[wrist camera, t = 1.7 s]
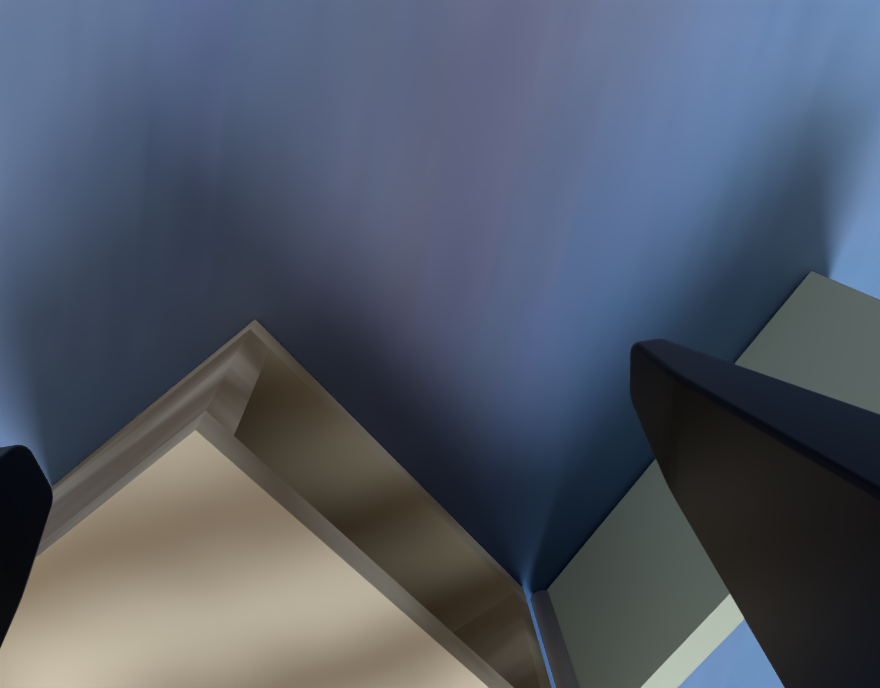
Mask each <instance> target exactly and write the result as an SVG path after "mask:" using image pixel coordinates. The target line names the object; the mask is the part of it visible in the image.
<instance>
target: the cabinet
mask: <svg viewBox="0 0 880 688" xmlns="http://www.w3.org/2000/svg"><path fill="white" fill-rule="evenodd" d="M51 489H52V492H53V503H52V507H51V510H50V513H49V516H48V519H47V522H46V526H45V529H44V532H43V535H42V538H41V541H40V545H39V548H38V551H37V554H36V557H35V560H34V564H33V567H32V570H31V573H30V576H29V579H28V582H27V585H26V588H25V591H24V594H23V597H22V599H21V602H20V604H19V607H18V609H17V612H16V614H15V616H14V619H13V621H12V623H11V626H10V628H9V630H8V632H7V635H6V637H5V639H4V642H3V644H2V646H1V649H0V688H551V684H550V681H549V677H548V674H547V670H546V667H545V663H544V660H543V656H542V653H541V649H540V646H539V642H538V639H537V635H536V632H535V628H534V625H533V621H532V618H531V614H530V611H529V607H528V604H527V600H526V596H525V593H524V589H523V588H522V587H521V586H520V585H519V584H518V583H517V582H516V581H515V580H514V579H513V578H512V577H511V576H510V575H509V574H508V573H507V572H506V571H505V570H504V569H503V568H502V567H501V566H500V565H499V564H498V563H497V562H496V561H495V560H494V559H493V558H492V557H491V556H490V555H489V554H488V553H487V552H486V551H485V550H484V548H483V547H482V546H481V545H480V544H479V543H478V542H477V541H476V540H475V539H474V538H473V537H472V536H471V535H470V534H469V533H468V532H467V531H466V530H465V529H464V528H463V527H462V526H461V525H460V524H459V523H458V522H457V521H456V520H455V519H454V518H453V517H452V516H451V515H450V514H449V513H448V512H447V511H446V510H445V509H444V508H443V507H442V506H441V505H440V504H439V503H438V502H437V501H436V500H435V499H434V498H433V497H432V496H431V495H430V494H429V493H428V492H427V491H426V490H425V489H424V488H423V487H422V486H421V485H420V484H419V483H418V482H417V481H416V480H415V479H414V478H413V477H412V476H411V475H410V474H409V473H408V472H407V471H406V470H405V469H404V468H403V467H402V466H401V465H400V464H399V463H398V462H397V461H396V460H395V459H394V458H393V457H392V456H391V455H390V454H389V453H388V452H387V451H386V450H385V449H384V448H383V447H382V446H381V445H380V444H379V443H378V442H377V441H376V440H375V439H374V438H373V437H372V436H371V435H370V434H369V433H368V432H367V431H366V430H365V429H364V428H363V427H362V426H361V425H360V424H359V423H358V422H357V421H356V420H355V419H354V418H353V417H352V416H351V415H350V414H349V413H348V412H347V411H346V410H345V409H344V408H343V407H342V406H341V405H340V404H339V403H338V402H337V401H336V400H335V399H334V398H333V397H332V396H331V395H330V394H329V393H328V392H327V391H326V390H325V389H324V388H323V387H322V386H321V385H320V384H319V383H318V382H317V381H316V380H315V379H314V378H313V377H312V376H311V375H310V374H309V373H308V372H307V371H306V370H305V369H304V368H303V367H302V366H301V365H300V364H299V363H298V362H297V360H296V359H295V358H294V357H293V356H292V355H291V354H290V353H289V352H288V351H287V350H286V349H285V348H284V347H283V346H282V345H281V344H280V343H279V342H278V341H277V340H276V339H275V338H274V337H273V336H272V335H271V334H270V333H269V332H268V331H267V330H266V329H265V328H264V327H263V326H262V325H261V324H260V323H259V322H258V321H257V320H256V319H255V320H254V321H252V322H251V323H250V324H249V325H247V326H246V327H245V328H244V329H243V330H241V331H240V332H239V333H238V334H237V335H235V336H234V337H233V338H232V339H230V340H229V341H228V342H227V343H226V344H224V345H223V346H222V347H221V348H220V349H218V350H217V351H216V352H215V353H213V354H212V355H211V356H210V357H209V358H207V359H206V360H205V361H204V362H202V363H201V364H200V365H199V366H198V367H196V368H195V369H194V370H193V371H192V372H190V373H189V374H188V375H187V376H185V377H184V378H183V379H182V380H181V381H179V382H178V383H177V384H176V385H175V386H173V387H172V388H171V389H170V390H168V391H167V392H166V393H165V394H164V395H162V396H161V397H160V398H159V399H158V400H156V401H155V402H154V403H153V404H151V405H150V406H149V407H148V408H147V409H145V410H144V411H143V412H142V413H140V414H139V415H138V416H137V417H136V418H134V419H133V420H132V421H131V422H130V423H128V424H127V425H126V426H125V427H123V428H122V429H121V430H120V431H119V432H117V433H116V434H115V435H114V436H113V437H111V438H110V439H109V440H108V441H106V442H105V443H104V444H103V445H102V446H100V447H99V448H98V449H97V450H96V451H94V452H93V453H92V454H91V455H89V456H88V457H87V458H86V459H85V460H83V461H82V462H81V463H80V464H78V465H77V466H76V467H75V468H74V469H72V470H71V471H70V472H69V473H68V474H66V475H65V476H64V477H63V478H61V479H60V480H59V481H58V482H57V483H55V484H54V485H53V486H52V487H51Z"/></svg>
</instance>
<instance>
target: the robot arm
mask: <svg viewBox="0 0 880 688" xmlns="http://www.w3.org/2000/svg"><path fill="white" fill-rule="evenodd" d="M630 394H631V400H632V403H633V406H634V409H635V411H636V413H637V416H638V418H639V420H640V423H641V425H642V427H643V430H644V432H645V435H646V437H647V439H648V442H649V444H650V446H651V449H652V451H653V453H654V456H655V458H656V460H657V463H658V465H659V467H660V470H661V472H662V474H663V476H664V479H665V481H666V483H667V485H668V487H669V489H670V491H671V493H672V495H673V496H674V498H675V500H676V502H677V504H678V505H679V507H680V509H681V511H682V512H683V514H684V516H685V517H686V519H687V521H688V523H689V524H690V526H691V528H692V529H693V531H694V533H695V535H696V536H697V538H698V540H699V541H700V543H701V545H702V547H703V548H704V550H705V552H706V553H707V555H708V557H709V559H710V560H711V562H712V564H713V565H714V567H715V569H716V571H717V572H718V574H719V576H720V577H721V579H722V581H723V583H724V584H725V586H726V588H727V589H728V591H729V593H730V595H731V596H732V598H733V600H734V601H735V603H736V605H737V607H738V608H739V610H740V612H741V614H742V615H743V617H744V619H745V620H746V622H747V624H748V626H749V627H750V629H751V631H752V632H753V634H754V636H755V638H756V639H757V641H758V643H759V644H760V646H761V648H762V650H763V651H764V653H765V655H766V656H767V658H768V660H769V662H770V663H771V665H772V667H773V668H774V670H775V672H776V674H777V675H778V677H779V679H780V680H781V682H782V684H783V686H784V687H785V688H880V414H878V413H875V412H872V411H869V410H866V409H863V408H860V407H858V406H855V405H852V404H849V403H846V402H843V401H840V400H837V399H834V398H831V397H829V396H826V395H823V394H820V393H817V392H814V391H811V390H808V389H805V388H802V387H799V386H797V385H794V384H791V383H788V382H785V381H782V380H779V379H776V378H773V377H770V376H768V375H765V374H762V373H759V372H756V371H753V370H750V369H747V368H744V367H741V366H739V365H736V364H733V363H730V362H727V361H724V360H721V359H718V358H715V357H712V356H710V355H707V354H704V353H701V352H698V351H695V350H692V349H689V348H686V347H683V346H681V345H678V344H675V343H672V342H669V341H666V340H663V339H652V340H646V341H640V342H636V343H634V344H633V346H632V348H631V353H630ZM52 503H53V492H52V489H51V486H50V484H49V482H48V480H47V479H46V477H45V475H44V473H43V471H42V470H41V468H40V466H39V464H38V462H37V461H36V459H35V457H34V455H33V454H32V452H31V451H30V450H29V449H28V448H27V447H25V446H23V445H13V446H7V447H1V448H0V649H1V646H2V644H3V642H4V639H5V637H6V635H7V632H8V630H9V628H10V626H11V623H12V621H13V619H14V616H15V614H16V612H17V609H18V607H19V604H20V602H21V599H22V597H23V594H24V591H25V588H26V585H27V582H28V579H29V576H30V573H31V570H32V567H33V564H34V560H35V557H36V554H37V551H38V548H39V545H40V541H41V538H42V535H43V532H44V529H45V526H46V522H47V519H48V516H49V513H50V510H51V507H52Z"/></svg>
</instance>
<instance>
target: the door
mask: <svg viewBox="0 0 880 688" xmlns="http://www.w3.org/2000/svg"><path fill="white" fill-rule="evenodd" d="M735 364H736V365H739V366H741V367H744V368H747V369H750V370H753V371H756V372H759V373H762V374H765V375H768V376H770V377H773V378H776V379H779V380H782V381H785V382H788V383H791V384H794V385H797V386H799V387H802V388H805V389H808V390H811V391H814V392H817V393H820V394H823V395H826V396H829V397H831V398H834V399H837V400H840V401H843V402H846V403H849V404H852V405H855V406H858V407H860V408H863V409H866V410H869V411H872V412H875V413H878V414H880V300H879V299H876V298H874V297H872V296H869V295H867V294H865V293H862V292H860V291H858V290H855V289H853V288H851V287H848V286H846V285H844V284H841V283H839V282H837V281H834V280H832V279H829V278H827V277H825V276H822V275H820V274H818V273H815V272H813V271H811V272H810V273H809V274H808V276H807V277H806V278H805V279H804V280H803V282H802V283H801V284H800V285H799V286H798V288H797V289H796V290H795V291H794V292H793V294H792V295H791V296H790V297H789V299H788V300H787V301H786V302H785V303H784V305H783V306H782V307H781V308H780V309H779V311H778V312H777V313H776V314H775V315H774V317H773V318H772V319H771V320H770V321H769V323H768V324H767V325H766V326H765V327H764V329H763V330H762V331H761V332H760V333H759V335H758V336H757V337H756V338H755V340H754V341H753V342H752V343H751V344H750V346H749V347H748V348H747V349H746V350H745V352H744V353H743V354H742V355H741V356H740V358H739V359H738V360H737V361H736V362H735ZM531 603H532V607H533V610H534V613H535V617H536V620H537V624H538V627H539V631H540V634H541V637H542V641H543V644H544V648H545V651H546V654H547V658H548V661H549V665H550V668H551V672H552V675H553V678H554V682H555V685H556V688H677V687H678V686H679V685H680V684H681V683H682V682H683V681H684V680H685V679H686V678H687V677H688V676H689V675H690V674H691V673H692V672H693V671H694V670H695V669H696V668H697V667H698V666H699V665H700V664H701V663H702V662H703V661H704V660H705V659H706V658H707V657H708V656H709V655H710V653H711V652H712V651H713V650H714V649H715V648H716V647H717V646H718V645H719V644H720V643H721V642H722V641H723V640H724V639H725V638H726V637H727V636H728V635H729V634H730V633H731V632H732V631H733V630H734V629H735V628H736V627H737V626H738V625H739V624H740V623H741V622H742V621H743V620H744V617H743V615H742V614H741V612H740V610H739V608H738V607H737V605H736V603H735V601H734V600H733V598H732V596H731V595H730V593H729V591H728V589H727V588H726V586H725V584H724V583H723V581H722V579H721V577H720V576H719V574H718V572H717V571H716V569H715V567H714V565H713V564H712V562H711V560H710V559H709V557H708V555H707V553H706V552H705V550H704V548H703V547H702V545H701V543H700V541H699V540H698V538H697V536H696V535H695V533H694V531H693V529H692V528H691V526H690V524H689V523H688V521H687V519H686V517H685V516H684V514H683V512H682V511H681V509H680V507H679V505H678V504H677V502H676V500H675V498H674V496H673V495H672V493H671V491H670V489H669V487H668V485H667V483H666V481H665V479H664V476H663V474H662V472H661V470H660V467H659V465H658V463H657V460H656V459H655V460H654V461H653V462H652V464H651V465H650V466H649V467H648V469H647V470H646V471H645V472H644V473H643V475H642V476H641V477H640V478H639V479H638V481H637V482H636V483H635V484H634V485H633V487H632V488H631V489H630V490H629V491H628V493H627V494H626V495H625V496H624V497H623V499H622V500H621V501H620V502H619V503H618V505H617V506H616V507H615V508H614V509H613V511H612V512H611V513H610V514H609V516H608V517H607V518H606V519H605V520H604V522H603V523H602V524H601V525H600V526H599V528H598V529H597V530H596V531H595V532H594V534H593V535H592V536H591V537H590V538H589V540H588V541H587V542H586V543H585V544H584V546H583V547H582V548H581V549H580V550H579V552H578V553H577V554H576V555H575V557H574V558H573V559H572V560H571V561H570V563H569V564H568V565H567V566H566V567H565V569H564V570H563V571H562V572H561V573H560V575H559V576H558V577H557V578H556V579H555V581H554V582H553V583H552V584H551V585H550V587H549V588H548V589H547V590H540V591H537V592H535V593H534V594H533V595H532V597H531Z"/></svg>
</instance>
